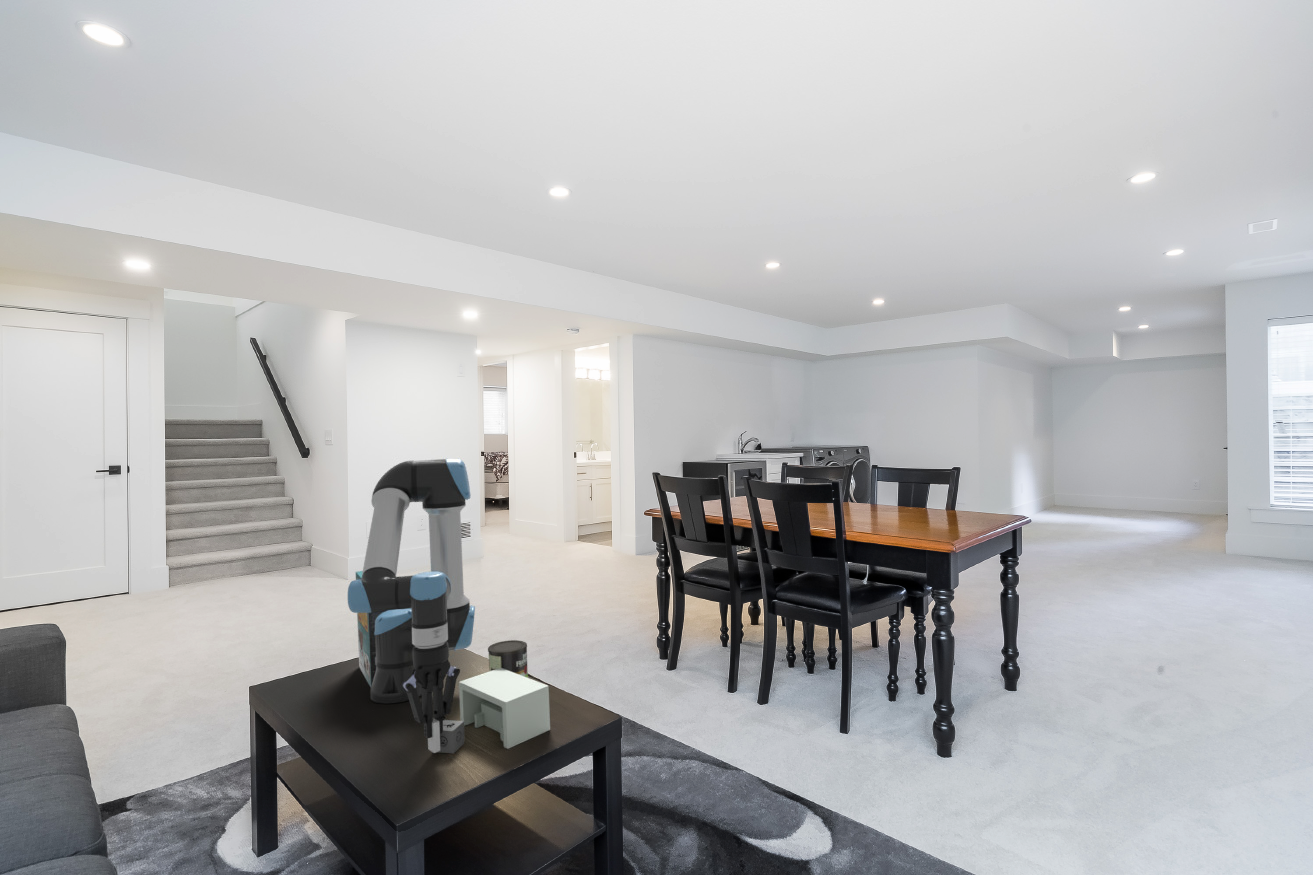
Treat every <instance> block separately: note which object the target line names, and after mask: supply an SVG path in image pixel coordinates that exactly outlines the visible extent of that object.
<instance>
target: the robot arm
mask: <svg viewBox="0 0 1313 875" xmlns="http://www.w3.org/2000/svg"><path fill="white" fill-rule="evenodd" d="M470 499H471V488H470V481H469V475H468V471H467V466H466V464H465V461H463V460H462V459H459V458H458V459H455V458H442V459H428V460H427V459H425V460H406V461H405V460H404V461H402V462H400V463H398V464H396V465H394V466H392V467H391V468H390V469H388V470H387V471H386V472H385V473H384V474H383V475H382V477H380V479H379V480H378V481H377V483H376V484H375V487H374V489H373V491H372V495H371V502H370V503H371V505H372V507H373V513H372V517H371V518H372V519H371V523H370V528H369V530H370V531H369V533H368V534H369V535H368V541H367V546H366V551H365V556H364V562H363V568H362V571H363V572H362V579H358V580H356V579H354V580H351V581H350V583H349V584H348V587H347V606H348V608H349V610H350V612H352V613H353V614H357V613H371V612H377V611H386V612H384V613H382V614H380V615H379V616H378V617H377V618H376V620H375V632H374V635H375V647H376V672H375V675H374V679H373V682H372V686H371V687H370V701H373V702H374V703H376V704H377V703H378V704H398V703H403V702H407V701H409V704H410V708H411V711H412V715H413V718H414V721H416V722H417V723H419V724H421V725H423V735H424V737H425V738H426V739H427V748H428V751H430V752H431V753H433V754H436V753H439V752H438V751H440V734H441V733H442V732H443V721H444V720H446V716H447V715H450V714H451V712H452V707H453V701H454V696H455V690H456V689H455V688H456V684H457V679H458V677H459V675H460V673H461V669H460V668H459V667H456V666H452V665H451V662H450V661H449V656H450V652H449V651H453V652H454V651H457V650H462V649H463V650H464V649H467V648H469V647H471V645H472V642H473V641H472V640H473V632H474V624H475V623H474V622H475V614H476V606H474V605H473V604H472V605H471V603H470V599H469V597H467V596H466V595H465V594H464V593H465V592H464V589H465V588H464V568H463V566H464V565H463V548H462V547H463V546H462V524H461V523H462V522H461V519H462V518H461V512H462V510H463V509H464V508H465V507H466V501H468V500H470ZM410 503H422V509H423V510H424V511H425V512H426V513H427V515H428V531H429V551H430V552H429V553H430V554H429V557H430V571H425V572H418V573H416V574H414V575H404V576H397V572H398V564H399V556H400V548H401V541H402V535H403V533H402V532H403V527H404V526H403V525H404V518H405V513H406V512H405V511H406V510H408V508H409V506H410ZM387 610H388V611H387ZM445 678H446V679H445ZM444 680H445V682H444ZM420 697H421V699H420ZM420 700H421V701H420Z"/></svg>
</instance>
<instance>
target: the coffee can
mask: <svg viewBox="0 0 1313 875" xmlns="http://www.w3.org/2000/svg"><path fill="white" fill-rule="evenodd" d="M487 652H488V668H489V669H488V672H489V671H492V670H495V669H498V668H503V669H506V670H508V671H511V672H513V673H516V674H519V675H521V676H524V677H527V678H529V674H528V672H529V671H528V643H527V642H525V641H524V640H516V639H514V640H512V639H511V640H510V639H509V640H503V641H498V642H495V643H493V644H491V645H489V646H487Z"/></svg>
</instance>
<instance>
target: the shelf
mask: <svg viewBox="0 0 1313 875" xmlns="http://www.w3.org/2000/svg"><path fill="white" fill-rule="evenodd" d="M458 689H459V692H458V693H459V694H458V695H459V713H460V714H459V716H460V717H459V718H460V720H459V721H464V727H465V726H468V725H470V724H472V723H474V728H476V729H478V728H482V727H483V726H486V727H487V728H490V729H491V730H494V731H495V732H498V733H499V734H500V741H502V742H503V747H504V748H505V749H507V750H508V749H510V748H513V747H515V746H517V745H519V744H521V743H524V742H526V741H528V740H530V739H532V738H535V737H537V736H540V735H541V734H544V733H546V732H548V731H550V730H551V720H550V718H551V716H550V693H549V685H547V684H545V683H542V682H540V681H537V680H535V679H532V678H529V677H528V678H527V677H524V676H521V675H519V674H516V673H513V672H511V671H508V670H506V669H503V668H498V669H495V670H492V671H489V670H488V671H487V672H484V673H482V674H478V675H475V676H472V677H469V678H467V679H462V680H460V681H459V682H458Z"/></svg>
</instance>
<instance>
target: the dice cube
mask: <svg viewBox="0 0 1313 875" xmlns="http://www.w3.org/2000/svg"><path fill="white" fill-rule="evenodd" d="M465 741H466V740H465V726H464V721H460V720H451V719H449V720H448V719H445V720H443V732H442V733H441V734H440V751H438V752H437V753H442V754H446V753H447V754H455V752H457V751H458V750H459V749H460V748H461V747H462V746H463V745H464V744H465V743H466V742H465Z"/></svg>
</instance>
